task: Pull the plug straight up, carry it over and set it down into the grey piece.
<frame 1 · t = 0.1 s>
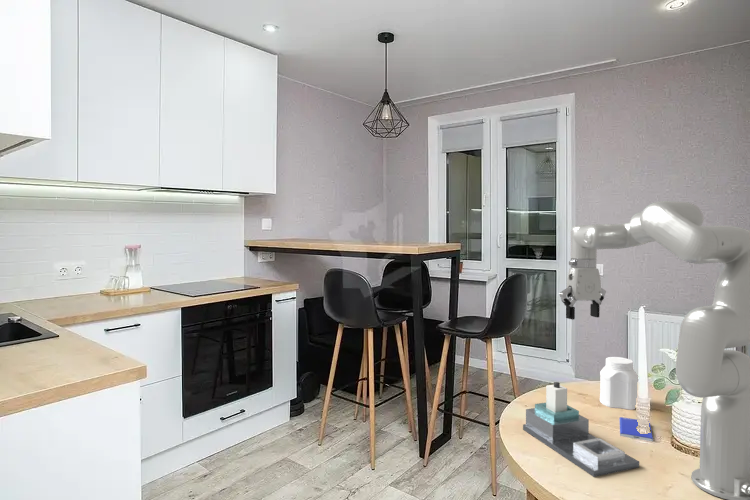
hand: (582, 317, 148), 31 cm above the table, tool pointing down, fingers open, 9 cm apart
plug: (556, 414, 134), point 6 cm above the table, touching grey piece
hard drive: (635, 432, 137), on the table
grey piece: (576, 446, 127), on the table
jar: (618, 404, 158), on the table
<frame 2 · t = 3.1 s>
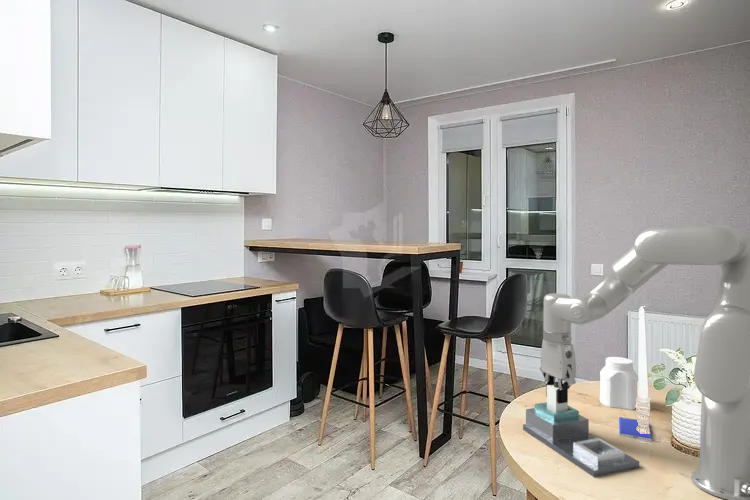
hand: (556, 399, 134), 10 cm above the table, tool pointing down, fingers closed on plug, 4 cm apart
plug: (557, 413, 134), point 6 cm above the table, touching gripper
everything else where it was.
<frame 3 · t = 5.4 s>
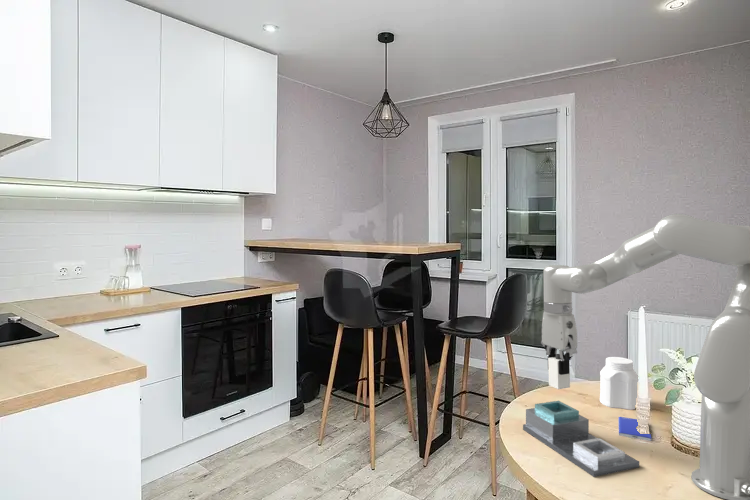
hand: (558, 371, 133), 19 cm above the table, tool pointing down, fingers closed on plug, 4 cm apart
plug: (559, 386, 134), point 14 cm above the table, touching gripper
everything else where it was.
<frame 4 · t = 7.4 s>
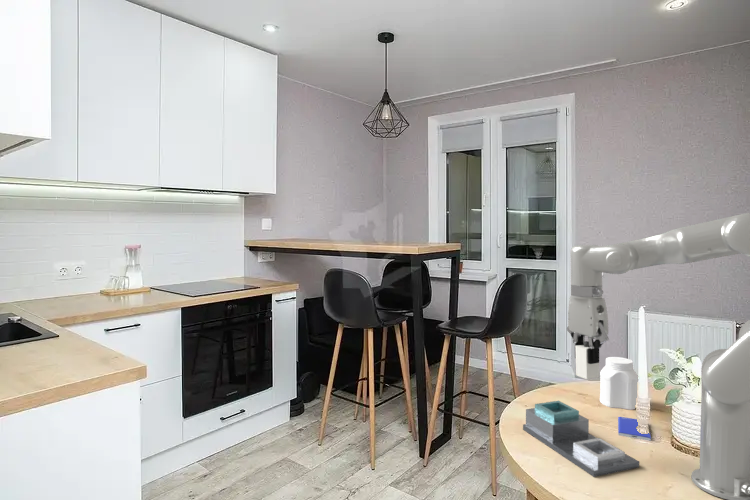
hand: (586, 360, 123), 25 cm above the table, tool pointing down, fingers closed on plug, 4 cm apart
plug: (587, 376, 123), point 20 cm above the table, touching gripper
everything else where it was.
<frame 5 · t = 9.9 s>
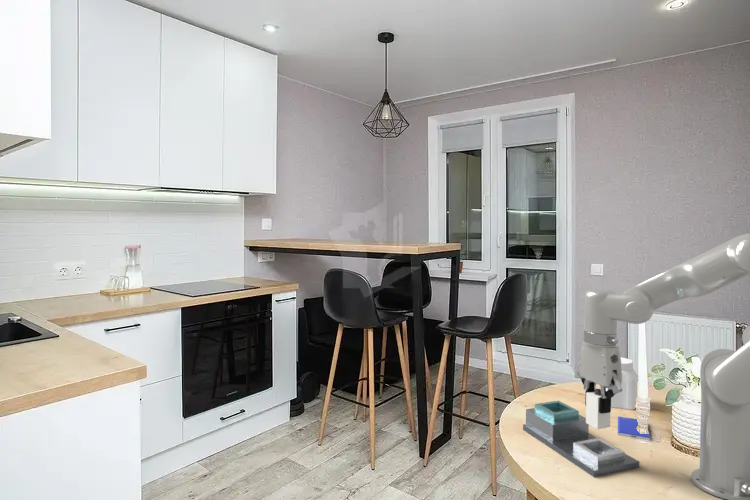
hand: (597, 408, 119), 14 cm above the table, tool pointing down, fingers closed on plug, 4 cm apart
plug: (597, 424, 119), point 9 cm above the table, touching gripper
everything else where it was.
when the fingers open (7 cm above the table, at t = 12.0 s): plug drops 1 cm, resting on grey piece.
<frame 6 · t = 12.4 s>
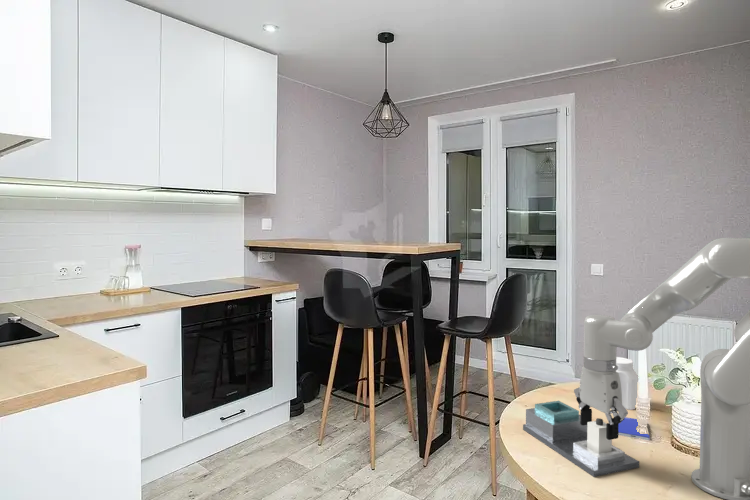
hand: (598, 431, 119), 8 cm above the table, tool pointing down, fingers open, 8 cm apart
plug: (599, 454, 119), point 1 cm above the table, touching grey piece
everything else where it was.
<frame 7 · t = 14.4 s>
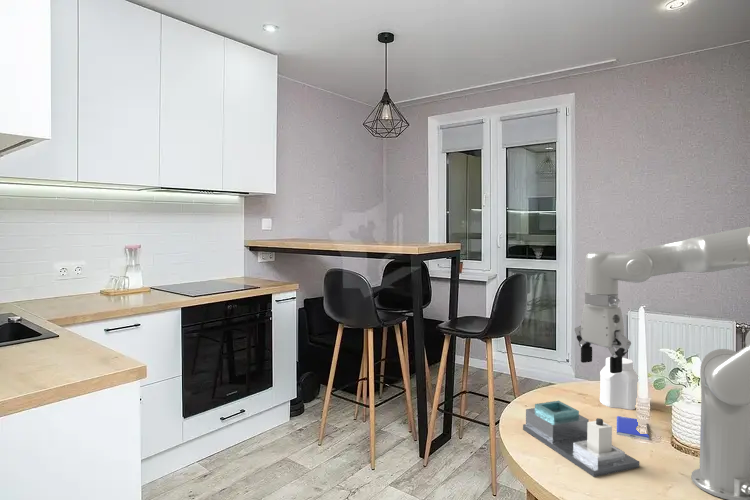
hand: (600, 367, 118), 24 cm above the table, tool pointing down, fingers open, 9 cm apart
nothing on the table moved.
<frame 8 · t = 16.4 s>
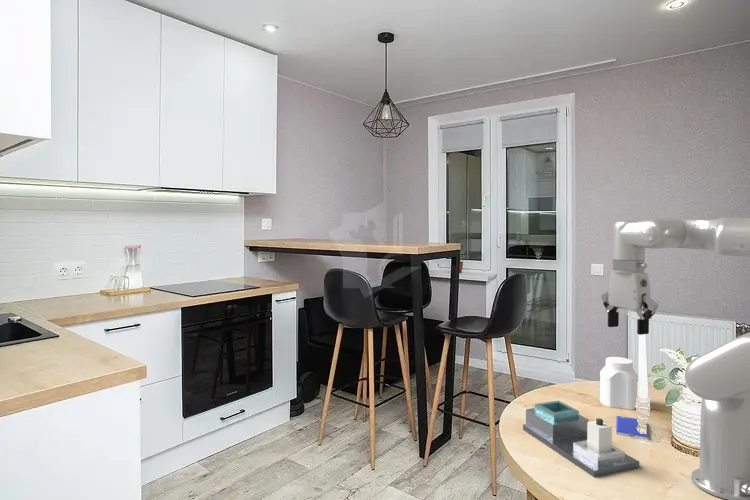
hand: (627, 330, 124), 32 cm above the table, tool pointing down, fingers open, 9 cm apart
at the end: plug 0.2 cm from the target spot, point 1.5 cm above the table; plug tilted 0°; the gripper is holding nothing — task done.
